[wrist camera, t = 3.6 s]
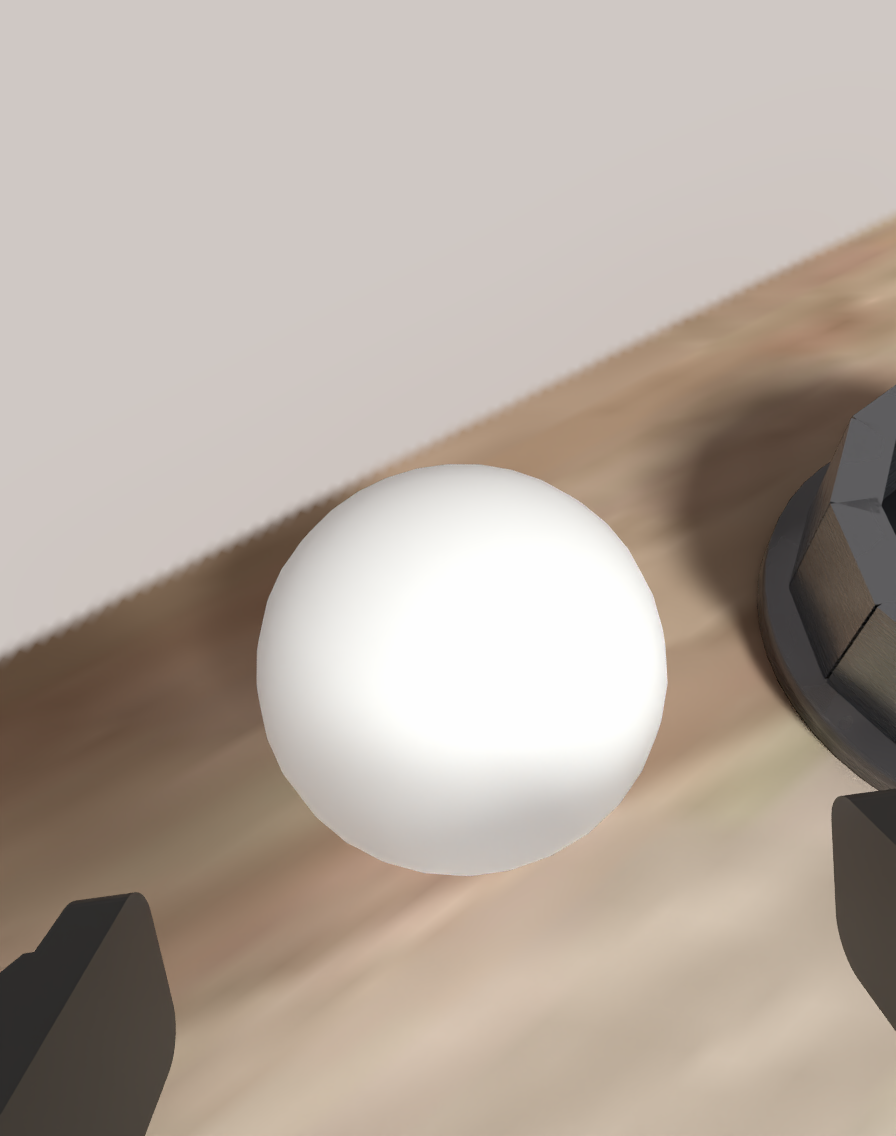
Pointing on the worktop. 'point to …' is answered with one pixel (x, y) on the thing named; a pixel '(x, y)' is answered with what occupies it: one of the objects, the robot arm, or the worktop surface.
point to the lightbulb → (461, 670)
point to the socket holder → (840, 597)
